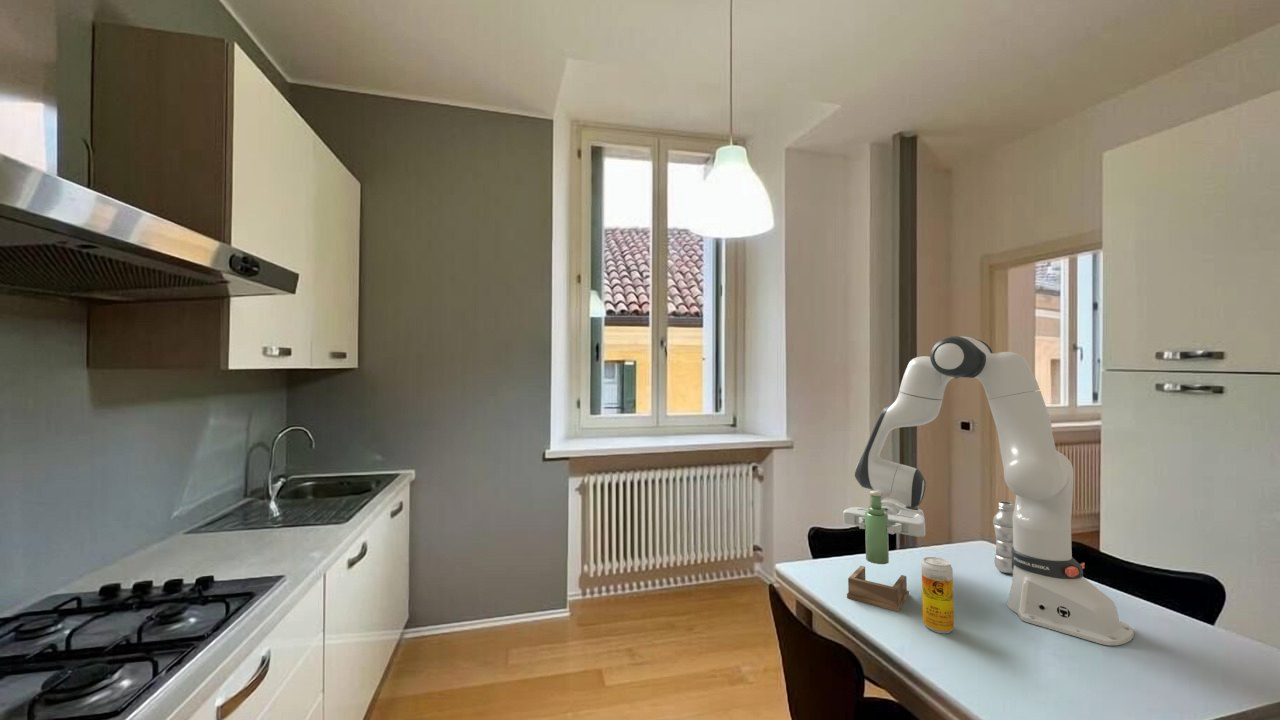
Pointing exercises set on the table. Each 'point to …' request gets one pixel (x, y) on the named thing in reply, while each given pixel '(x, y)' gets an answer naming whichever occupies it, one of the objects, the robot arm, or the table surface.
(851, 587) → the tray
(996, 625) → the table surface
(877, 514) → the bottle
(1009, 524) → the plastic bottle
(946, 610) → the beer can
